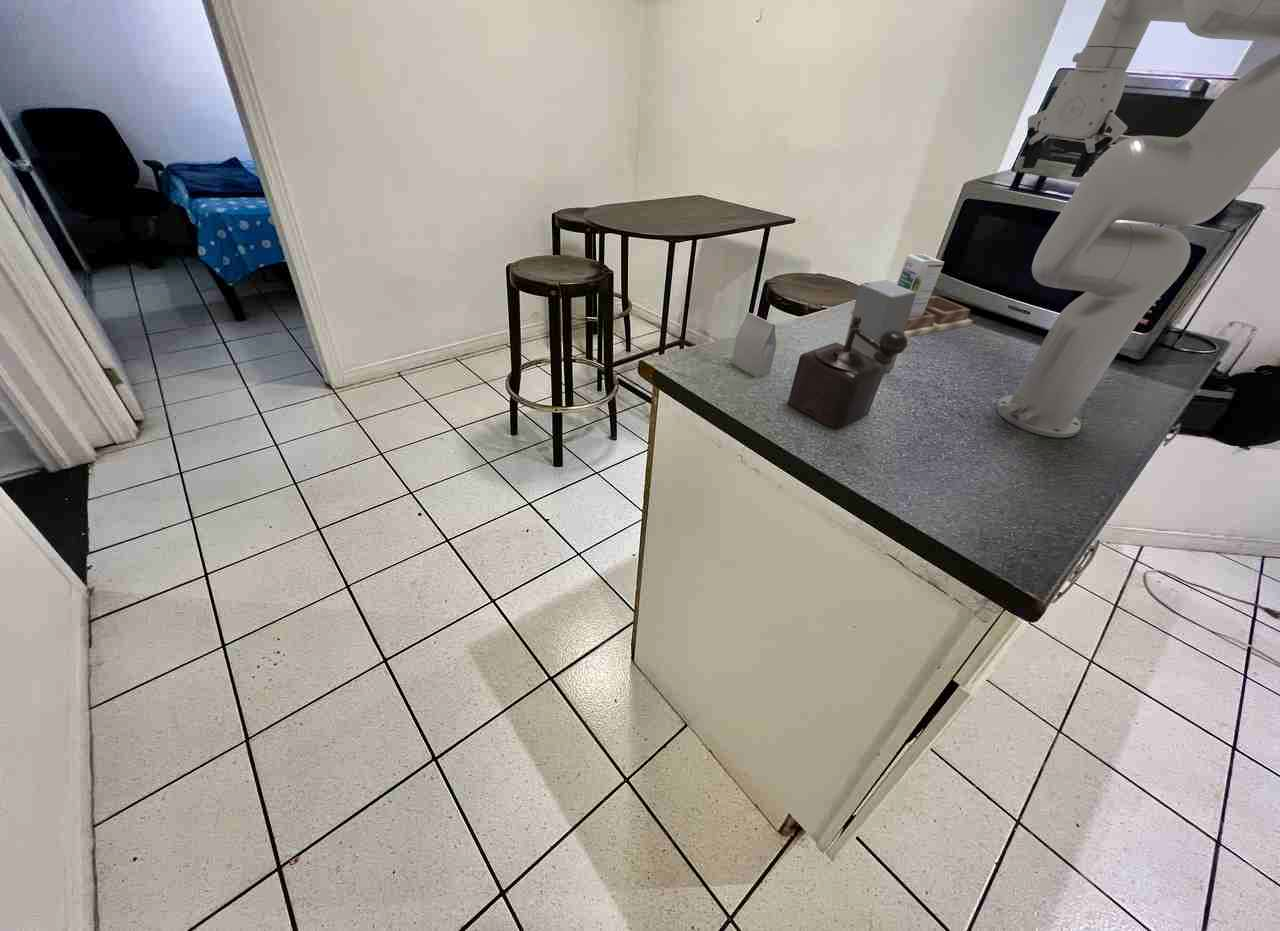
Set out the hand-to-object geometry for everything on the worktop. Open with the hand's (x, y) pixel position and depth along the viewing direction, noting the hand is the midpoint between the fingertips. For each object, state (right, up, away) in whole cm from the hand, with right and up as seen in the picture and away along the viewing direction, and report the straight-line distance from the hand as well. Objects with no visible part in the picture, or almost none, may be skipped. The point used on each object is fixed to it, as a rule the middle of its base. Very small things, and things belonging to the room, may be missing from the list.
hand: (1051, 172), depth 102 cm
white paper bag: (-59, -39, -1) cm, 71 cm away
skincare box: (-35, -37, +3) cm, 52 cm away
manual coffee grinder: (-47, -49, -13) cm, 69 cm away
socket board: (-14, -21, +26) cm, 36 cm away
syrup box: (-19, -23, +21) cm, 37 cm away
